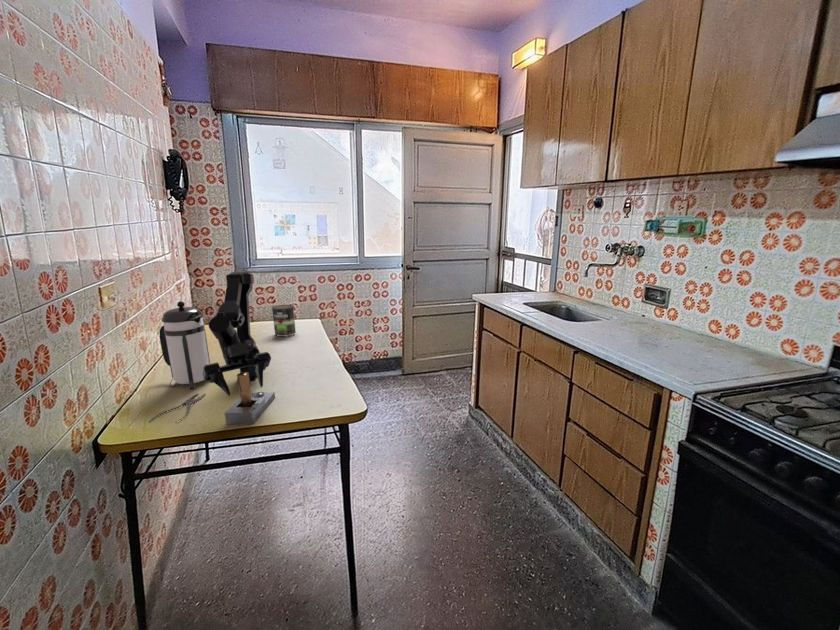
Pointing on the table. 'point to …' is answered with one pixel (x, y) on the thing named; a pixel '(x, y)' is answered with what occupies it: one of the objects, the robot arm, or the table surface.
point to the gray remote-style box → (248, 409)
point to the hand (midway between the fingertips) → (246, 390)
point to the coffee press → (184, 344)
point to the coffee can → (284, 320)
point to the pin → (245, 389)
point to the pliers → (183, 405)
